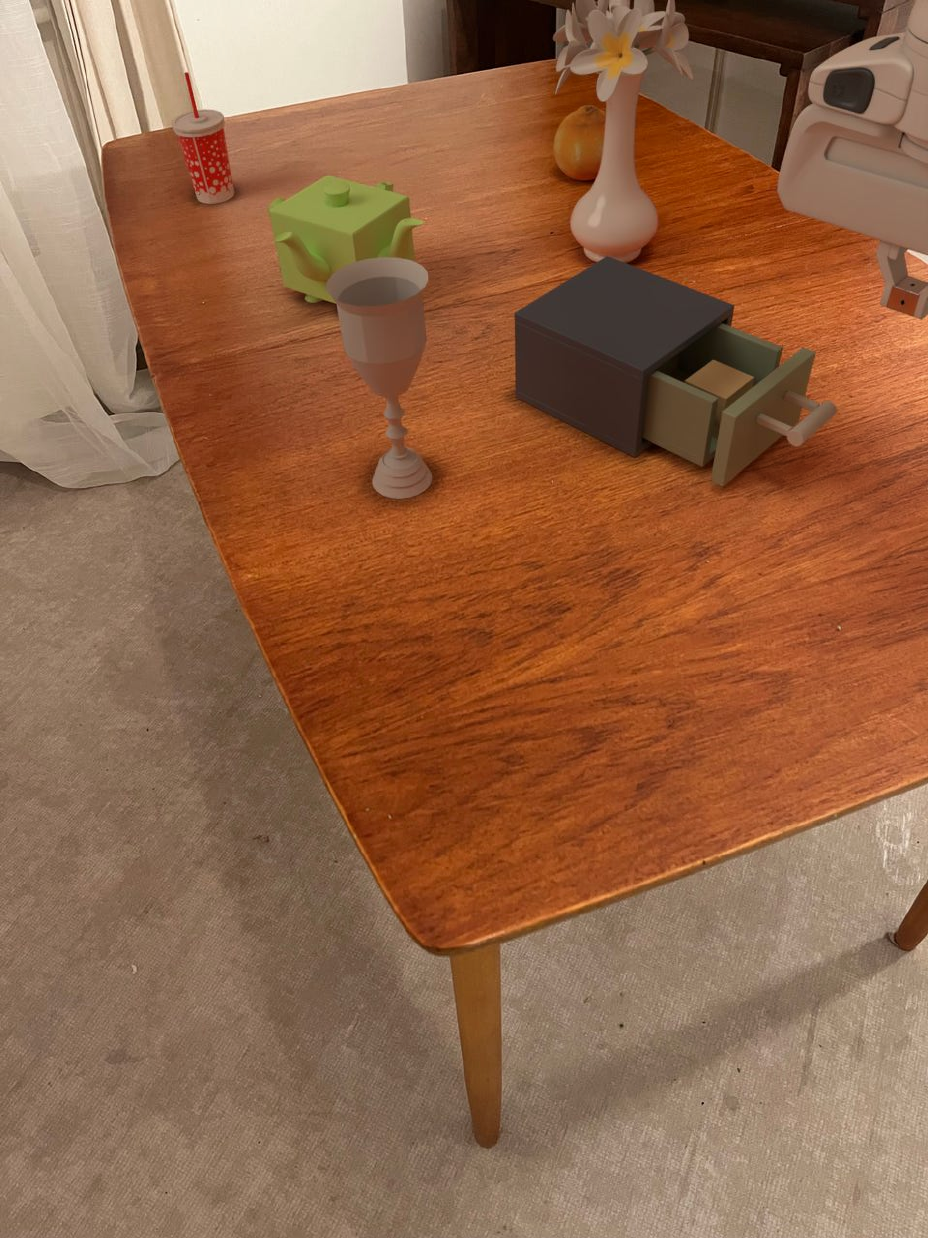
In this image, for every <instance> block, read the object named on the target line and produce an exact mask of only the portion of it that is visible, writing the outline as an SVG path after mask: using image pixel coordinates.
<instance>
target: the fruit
mask: <svg viewBox="0 0 928 1238" xmlns="http://www.w3.org/2000/svg"><path fill="white" fill-rule="evenodd" d="M605 120H606V110H605V111H604V110H602V109H600V108H599V107H598V106H595V105H593V104H587V105H582V106H580V107H578V109H577V110H575V111H572V112H570V113H569V114H568V115H567V116H566V117H565V118H563V120H562V121H561V123H560V124H559V126H558V128H557V130H556V132H555V135H554V139H553V145H552V154H553V159H554V161H555V164H556V165H557V167H558V169H560V171H561V172H562V173H563V174H564V175H566V176H567V177H568V178H571V179H573V180H577V181H592V180H596V177H597V175H598V172H599V169H600V165H601V160H602V153H603V143H604V132H605Z"/></svg>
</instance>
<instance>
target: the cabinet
mask: <svg viewBox="0 0 928 1238" xmlns="http://www.w3.org/2000/svg"><path fill="white" fill-rule="evenodd" d="M734 312H735V304H733V303H730V302H727V301H724V300H723V299H719V298H717V297H714V296H711V295H708V294H706V293H704V292H701V291H699V290H697V289H694V288H692V287H688V286H686V285H683V284H681V283H678V282H675V281H673V280H671V279H668V278H665V277H662V276H660V275H657V274H654V273H652V272H650V271H647V270H645V269H642V268H639V267H636V266H634V265H631V264H629V263H624V262H621V261H619V260H616V259H613V258H611V257H608V256H606V257H605V258H603V259H601V260H600V261H598V262H594V264H593V263H592V265H590V266H589V267H586V268H585V269H583V270H582V271H580V272H579V273H577V274H575V275H574V276H572V277H570V278H569V279H567V280H565V281H564V282H563V283H561V284H559V285H557V286H556V287H553V288H552V289H551V290H549V291H548V292H546V293H545V294H543V295H541V296H539V297H538V298H536V299H535V300H533V301H531V302H530V303H528V304H526V305H525V306H523V307H522V308H520V309H518V310H517V311H515V312H514V364H515V365H514V368H515V369H514V370H515V371H514V374H515V375H514V377H515V379H514V380H515V398H516V399H518V400H520V401H522V402H524V403H526V404H528V405H530V406H531V407H534V408H536V409H538V410H540V411H541V412H544V413H546V414H548V415H549V416H552V417H554V418H555V419H558V420H559V421H561V422H564V423H565V424H567V425H569V426H571V427H573V428H575V429H577V430H579V431H581V432H583V433H585V434H587V435H589V436H591V437H592V438H595V439H597V440H599V441H601V442H603V443H605V444H607V445H609V446H611V447H613V448H615V449H617V450H619V451H621V452H623V453H624V454H626V455H629V456H630V457H633V458H637V457H638V456H639V455H641V454H642V453H643V452H644V451H646V450H647V449H648V448H650V447H651V446H653V444H654V443H652V442H650V441H648V440H646V439H644V438H642V432H643V422H644V413H645V403H646V393H647V384H648V375H649V374H650V373H652V372H653V371H654V370H656V369H657V368H659V367H660V366H661V365H663V364H664V363H666V362H667V361H668V360H670V359H671V358H672V357H674V356H675V355H677V354H678V353H679V352H681V351H682V350H683V349H685V348H686V347H688V346H689V345H690V344H692V343H693V342H694V341H696V340H697V339H699V338H700V337H701V336H703V335H704V334H706V333H707V332H708V331H710V330H711V329H712V328H714V327H715V326H717V325H718V324H719V323H724V324H726V325H729V326H731V327H732V324H733V317H734Z"/></svg>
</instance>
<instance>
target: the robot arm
mask: <svg viewBox="0 0 928 1238" xmlns="http://www.w3.org/2000/svg"><path fill="white" fill-rule="evenodd" d="M808 83H809V84H808V90H807V93H808V98H809V99H808V100H809V101H810V102H811V104H809V105H808V106H806V107H805V108H804V109H803V110H802V111H801V112H800V113H799V115H798V116H797V118H796V119H795V121H794V123H793V126H792V129H791V131H790V134H789V137H788V141H787V144H786V147H785V150H784V154H783V158H782V162H781V166H780V169H779V170H780V171H779V176H778V180H777V186H776V187H777V188H776V189H777V190H776V191H777V192H776V193H777V195H778V198H779V200H780V203H781V205H782V207H783V209H784V210H786V211H788V212H790V213H794V214H797V215H801V216H803V217H807V218H810V219H813V220H816V221H819V222H823V223H826V224H828V225H832V226H835V227H838V228H840V229H844V230H847V231H850V232H853V233H856V234H859V235H862V236H866V237H868V238H872V239H875V240H878V241H879V242H878V246H877V249H876V252H875V255H876V259H877V263H878V266H879V270H880V274H881V277H882V280H883V283H885V284H884V287H883V292H882V294H881V297H880V301H879V306H881V307H884V308H886V309H889V310H892V311H896V312H898V313H901V314H904V315H906V316H910V317H912V318H915V319H918V320H920V321H922V320H924V319H925V318H926V317H927V316H928V281H925V280H923V279H918V278H916V277H913V276H910V275H909V272H908V267H907V263H906V262H907V261H906V255H905V253H906V252H907V251H912V252H916V253H919V254H921V255H925V256H928V0H916V1H915V3H914V5H913V7H912V9H911V11H910V14H909V16H908V20H907V24H906V28H905V31H904V32H898V33H891V34H885V35H877V36H872V37H869V38H867V39H864V40H862V41H859V42H856V43H855V44H852V45H851V46H848V47H846V48H844V49H842V50H840V51H839V52H837V53H835V54H833V55H832V56H831V57H829V58H827V59H826V60H825V61H823V62H822V63H820V64H819V65H818V66H817V67H816V68H814V69H813V71H812V72H811V74H810V78H809V82H808Z"/></svg>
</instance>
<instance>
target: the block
mask: <svg viewBox="0 0 928 1238" xmlns="http://www.w3.org/2000/svg"><path fill="white" fill-rule="evenodd" d="M753 381H754V377H753V376H750V375H748V374H746V373H743V372H741V371H739V370H736V369H734V368H732V367H729V366H727V365H725V364H722V363H720V362H718V361H715V360H712V361H711V362H709V363H708V364H707V365H705V366H704V367H703V368H701V369H700V370H699V371H697V372H696V373H695V374H693V375H692V376H690V377H689V378H688V379H686V380H685V383H686V384H688V385H690V386H692V387H695V388H697V389H699V390H701V391H704V392H706V393H708V394H710V395H713V396H715V397H717V398H718V404H717V410H716V416H715V422H714V428H713V434H712V436H713V437H715V438H717V439H718V436H719V430H720V424H721V418H722V413H723V411H724V410H725V409H726V408H728V407H729V406H730V405H731V404H733V403H734V402H735V401H736V400H738V399H739V398H740V397H741V396H743V395H744V394H745V393H746V392H748V391H749V390H750V389H751V388H752V386H753Z"/></svg>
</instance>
